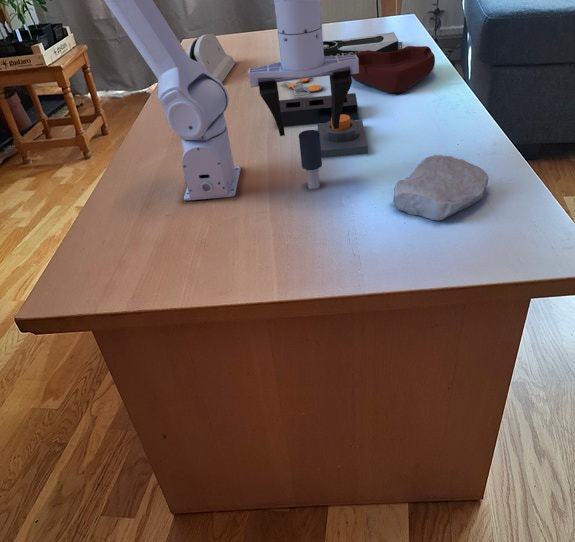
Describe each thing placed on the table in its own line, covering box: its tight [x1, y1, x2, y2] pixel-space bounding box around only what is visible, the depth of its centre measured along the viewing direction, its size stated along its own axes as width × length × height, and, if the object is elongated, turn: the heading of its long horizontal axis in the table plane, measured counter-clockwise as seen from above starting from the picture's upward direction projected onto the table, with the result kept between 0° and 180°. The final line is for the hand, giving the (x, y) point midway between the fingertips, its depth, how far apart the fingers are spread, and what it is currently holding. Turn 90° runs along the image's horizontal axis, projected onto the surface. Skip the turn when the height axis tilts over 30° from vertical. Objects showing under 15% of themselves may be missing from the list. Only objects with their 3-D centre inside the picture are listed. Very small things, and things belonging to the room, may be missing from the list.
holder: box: [279, 92, 359, 128], centre depth 104 cm, size 6×15×3 cm, turn 88°
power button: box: [331, 114, 350, 131], centre depth 93 cm, size 3×3×2 cm
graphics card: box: [323, 31, 403, 56], centre depth 133 cm, size 10×3×25 cm
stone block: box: [392, 154, 489, 221], centre depth 76 cm, size 12×5×10 cm
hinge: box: [186, 33, 236, 84], centre depth 131 cm, size 17×5×10 cm, turn 172°
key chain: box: [283, 78, 323, 97], centre depth 119 cm, size 13×7×1 cm, turn 9°
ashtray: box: [351, 45, 436, 95], centre depth 114 cm, size 18×16×5 cm
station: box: [317, 119, 369, 158], centre depth 94 cm, size 11×8×3 cm
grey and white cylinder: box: [298, 129, 323, 190], centre depth 81 cm, size 3×3×8 cm
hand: (308, 129), depth 78 cm, fingers open, 7 cm apart
